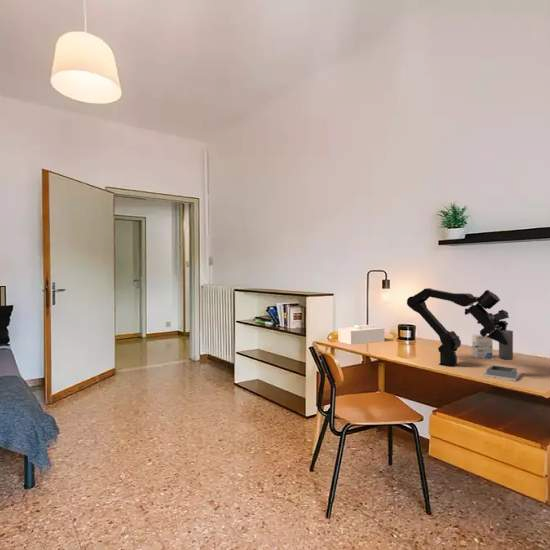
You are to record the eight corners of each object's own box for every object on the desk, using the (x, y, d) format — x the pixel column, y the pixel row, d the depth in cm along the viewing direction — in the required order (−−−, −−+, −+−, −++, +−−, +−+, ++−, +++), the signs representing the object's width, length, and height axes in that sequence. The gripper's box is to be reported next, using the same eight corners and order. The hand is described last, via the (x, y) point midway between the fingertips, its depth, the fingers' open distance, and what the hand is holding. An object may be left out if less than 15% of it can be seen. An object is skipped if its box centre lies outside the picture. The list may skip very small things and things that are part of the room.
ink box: (487, 355, 207) (487, 333, 207) (492, 358, 202) (492, 335, 202) (471, 356, 207) (471, 333, 206) (476, 358, 202) (476, 335, 201)
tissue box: (338, 341, 254) (338, 324, 254) (370, 338, 264) (370, 322, 264) (351, 345, 241) (350, 327, 241) (384, 341, 251) (384, 324, 251)
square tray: (483, 376, 168) (482, 369, 168) (489, 371, 176) (489, 364, 176) (515, 381, 160) (515, 373, 160) (520, 375, 168) (520, 368, 168)
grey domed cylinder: (496, 358, 171) (496, 330, 171) (502, 356, 174) (502, 329, 174) (509, 360, 167) (508, 332, 166) (515, 358, 169) (515, 331, 169)
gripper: (487, 305, 166) (517, 334, 158) (503, 302, 179) (531, 329, 171) (468, 322, 172) (496, 351, 164) (484, 318, 185) (510, 345, 177)
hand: (509, 343), depth 169 cm, fingers closed on grey domed cylinder, 5 cm apart
